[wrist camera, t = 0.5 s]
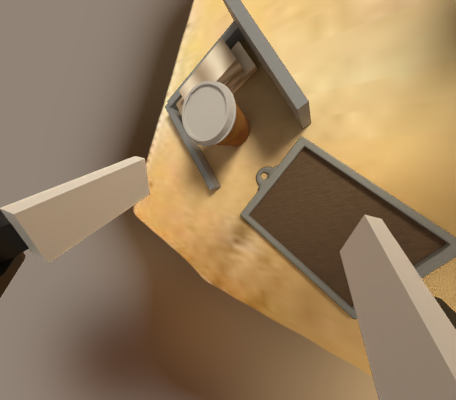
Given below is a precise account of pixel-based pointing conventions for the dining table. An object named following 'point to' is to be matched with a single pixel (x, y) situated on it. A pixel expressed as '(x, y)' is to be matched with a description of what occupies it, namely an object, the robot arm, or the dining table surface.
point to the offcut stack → (221, 69)
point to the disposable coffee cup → (214, 116)
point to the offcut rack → (272, 65)
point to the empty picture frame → (335, 218)
